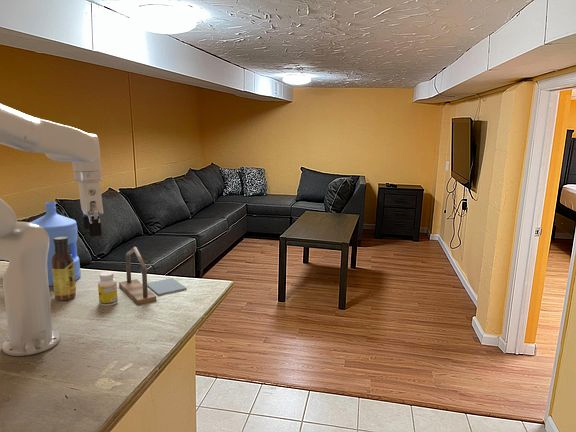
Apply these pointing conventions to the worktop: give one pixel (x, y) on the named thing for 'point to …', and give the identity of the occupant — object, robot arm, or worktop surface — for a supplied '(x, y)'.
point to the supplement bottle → (107, 289)
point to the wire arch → (137, 282)
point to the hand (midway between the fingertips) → (92, 232)
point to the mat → (166, 286)
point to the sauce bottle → (63, 271)
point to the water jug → (59, 228)
